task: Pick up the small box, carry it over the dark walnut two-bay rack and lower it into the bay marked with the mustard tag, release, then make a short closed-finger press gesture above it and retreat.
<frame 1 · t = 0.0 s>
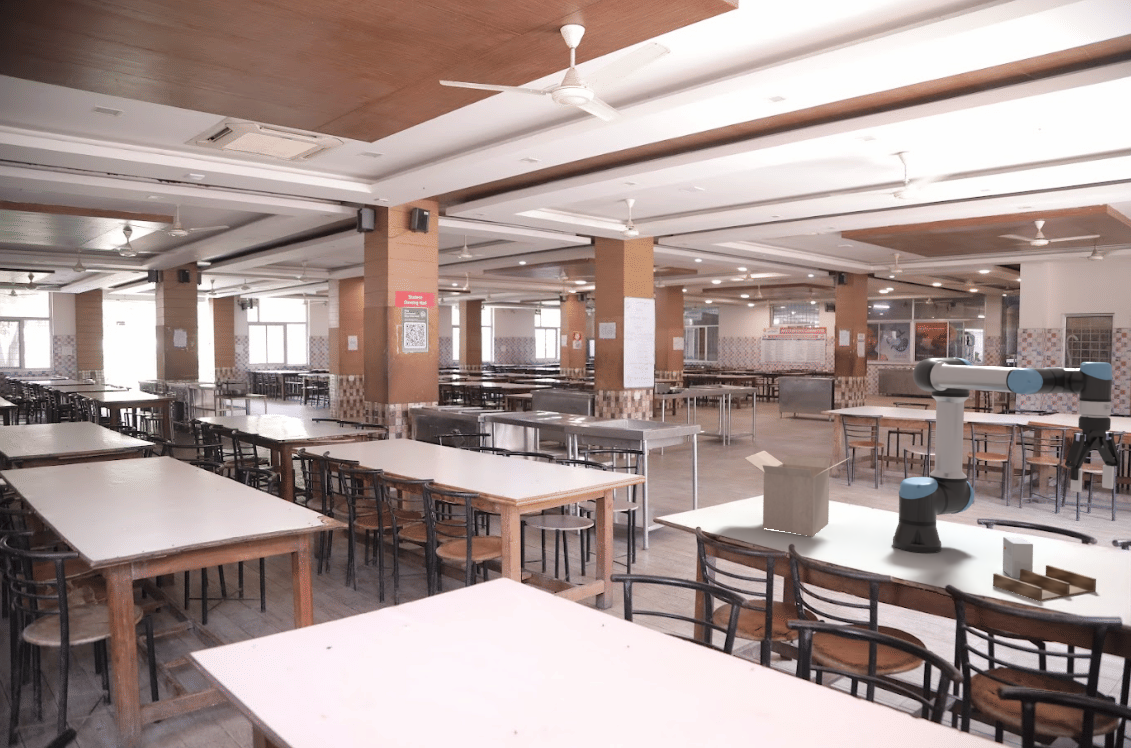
hand: (1092, 489, 217), 28 cm above the table, fingers open, 13 cm apart
box: (796, 527, 286), on the table
rack: (1043, 588, 216), on the table
small box: (1017, 575, 229), on the table
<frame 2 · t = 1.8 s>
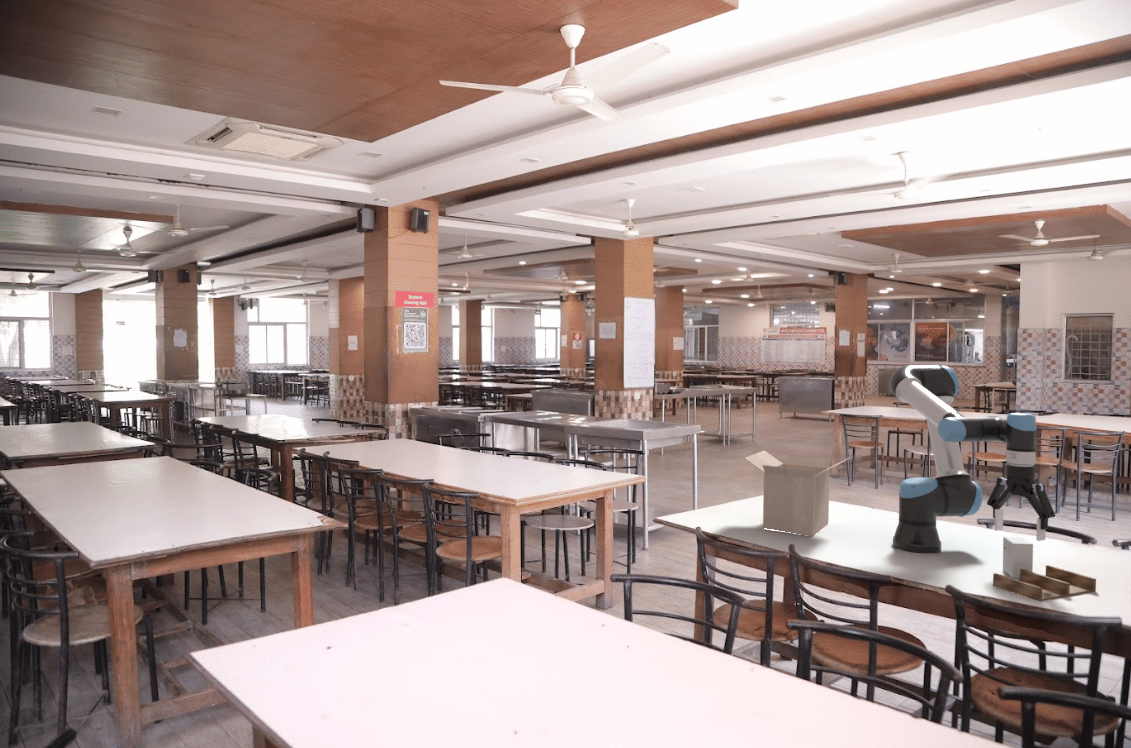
hand: (1019, 535, 228), 12 cm above the table, fingers open, 13 cm apart
nothing on the table moved.
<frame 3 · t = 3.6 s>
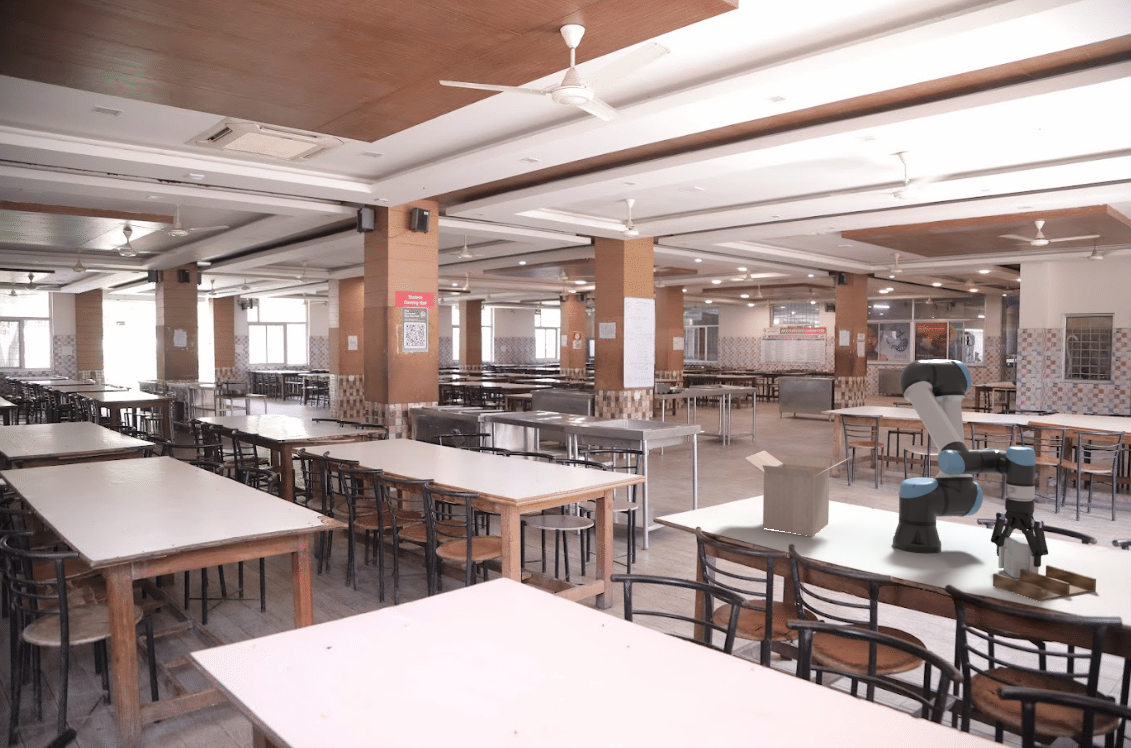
hand: (1017, 572, 228), 1 cm above the table, fingers open, 9 cm apart
small box: (1017, 575, 228), on the table, touching gripper, rack
everything else where it was.
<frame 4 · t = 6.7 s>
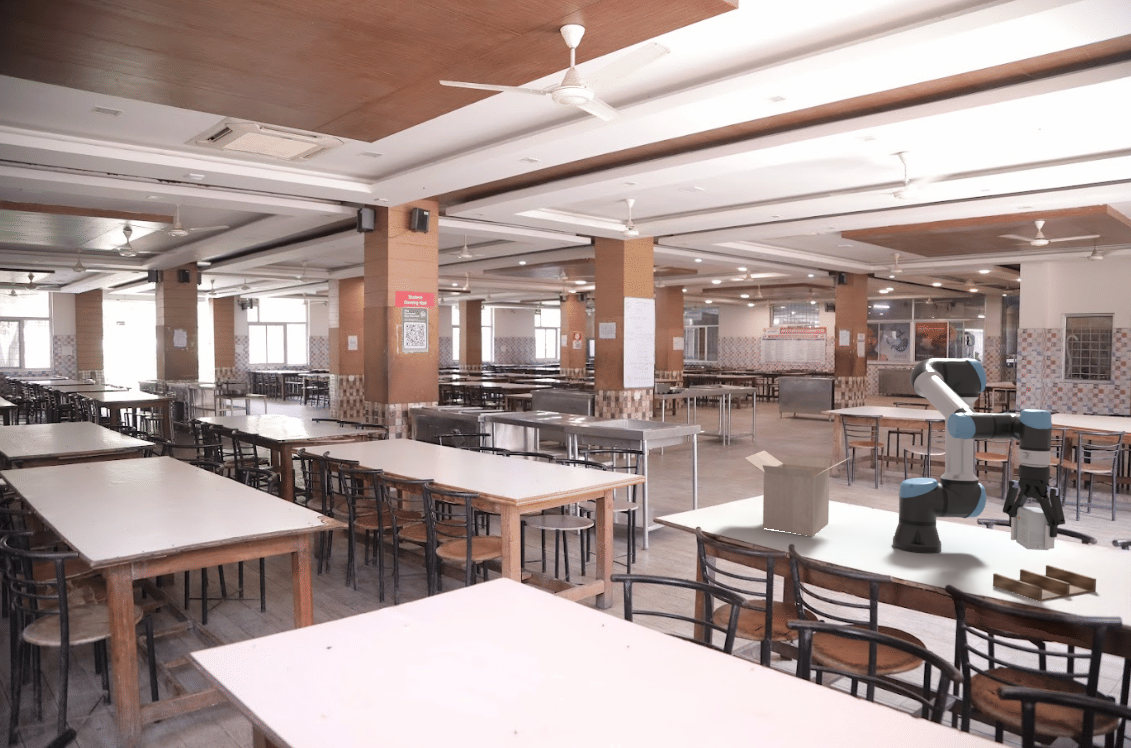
hand: (1032, 543, 213), 14 cm above the table, fingers closed on small box, 9 cm apart
small box: (1031, 547, 213), point 13 cm above the table, touching gripper
everything else where it was.
when the fingers open (3 cm above the table, at t = 9.3 s): small box drops 2 cm, resting on rack.
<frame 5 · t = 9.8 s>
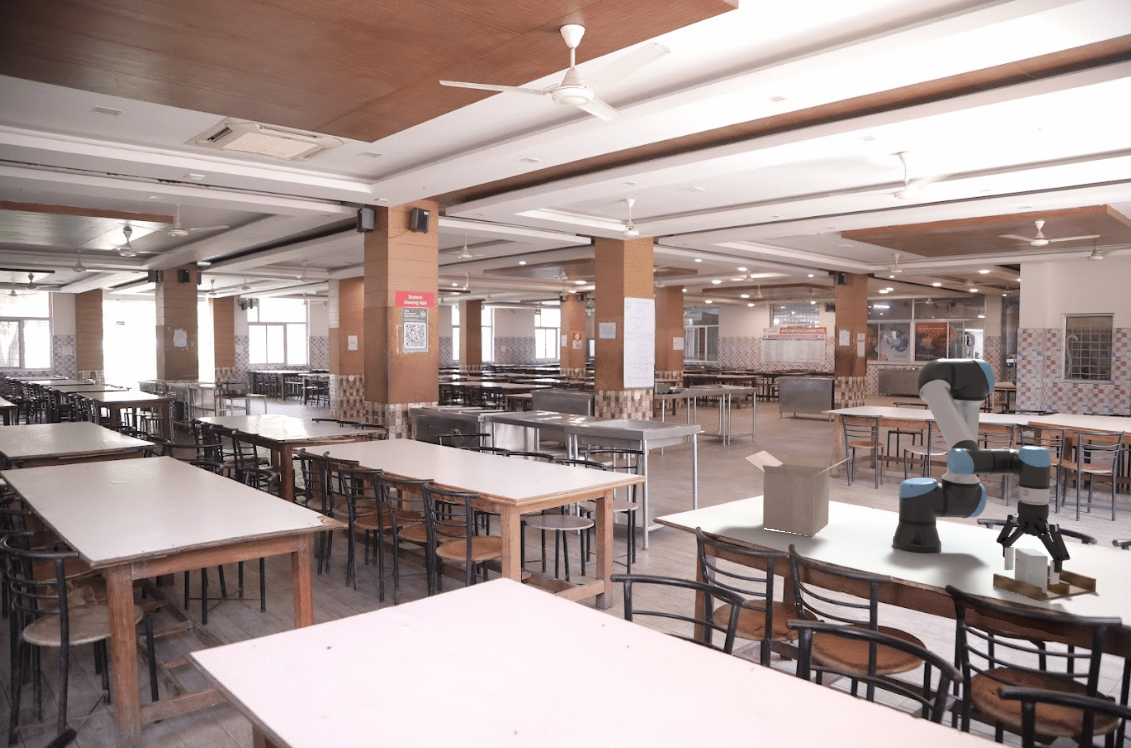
hand: (1030, 576, 213), 4 cm above the table, fingers open, 13 cm apart
small box: (1030, 589, 214), resting on rack
everything else where it was.
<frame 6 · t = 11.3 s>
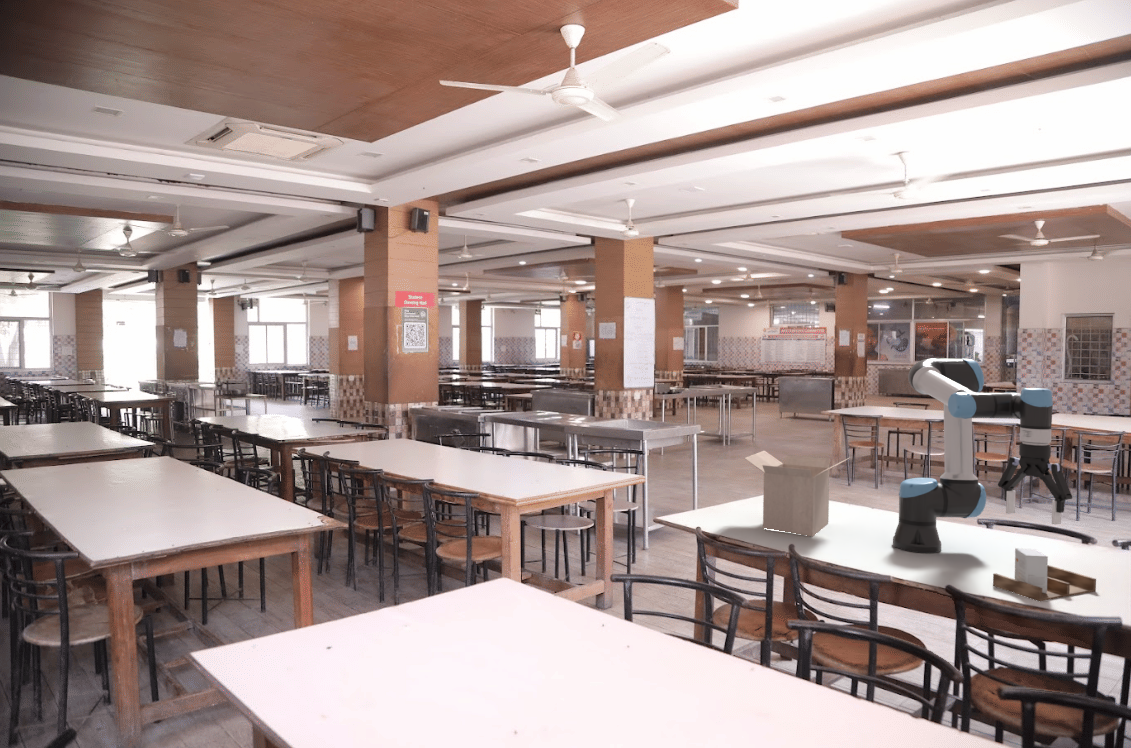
hand: (1032, 518, 213), 21 cm above the table, fingers open, 13 cm apart
nothing on the table moved.
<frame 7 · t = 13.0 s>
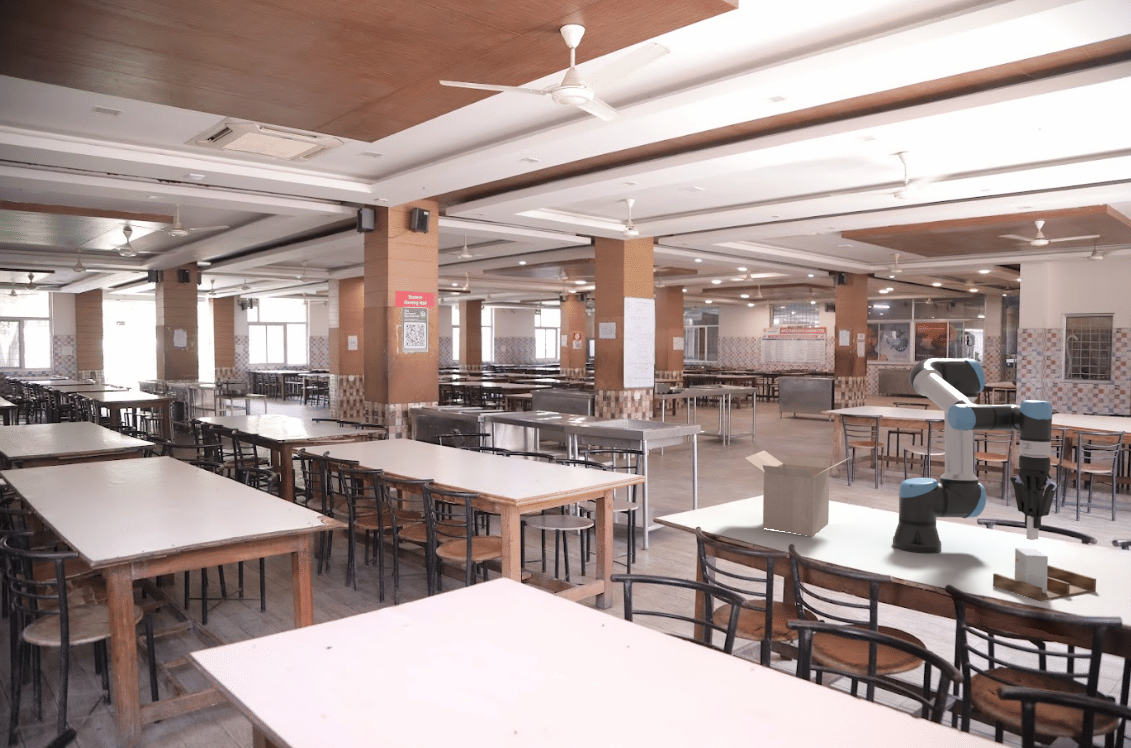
hand: (1032, 538, 213), 15 cm above the table, fingers closed
nothing on the table moved.
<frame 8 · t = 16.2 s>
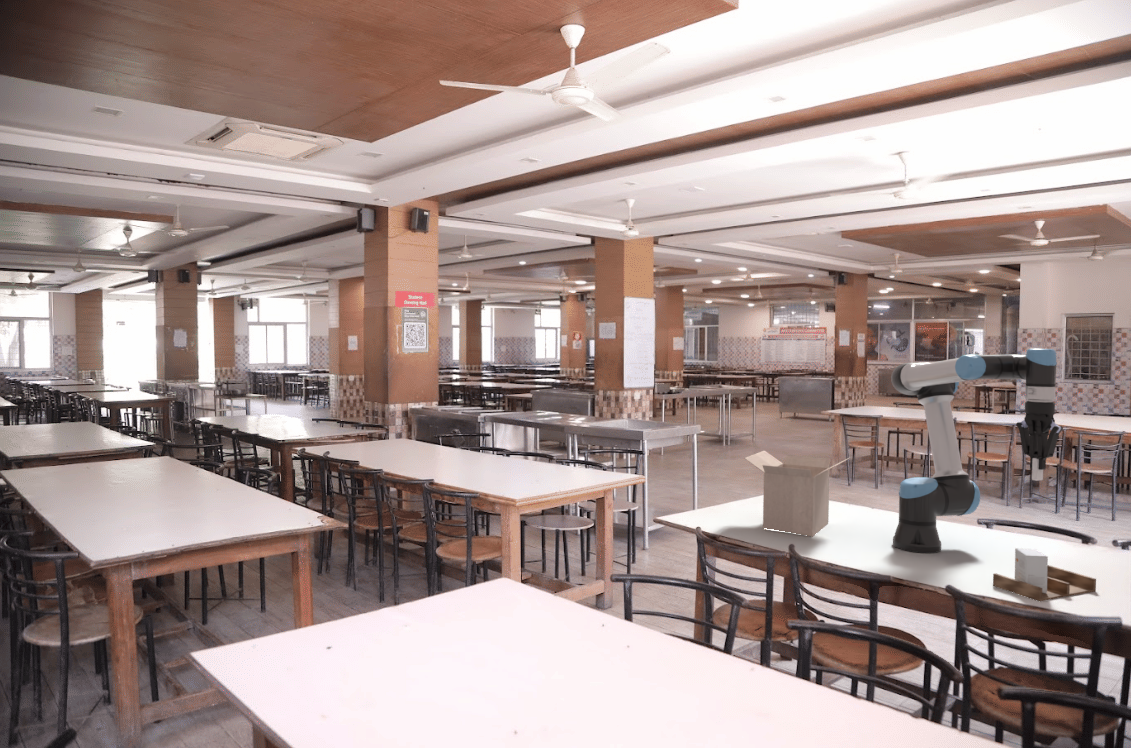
hand: (1037, 479, 224), 29 cm above the table, fingers closed
nothing on the table moved.
at the end: small box inside the target area on the rack (0.1 cm from its centre), point 0.4 cm above the rack's base; small box tilted 0°; the gripper is holding nothing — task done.
